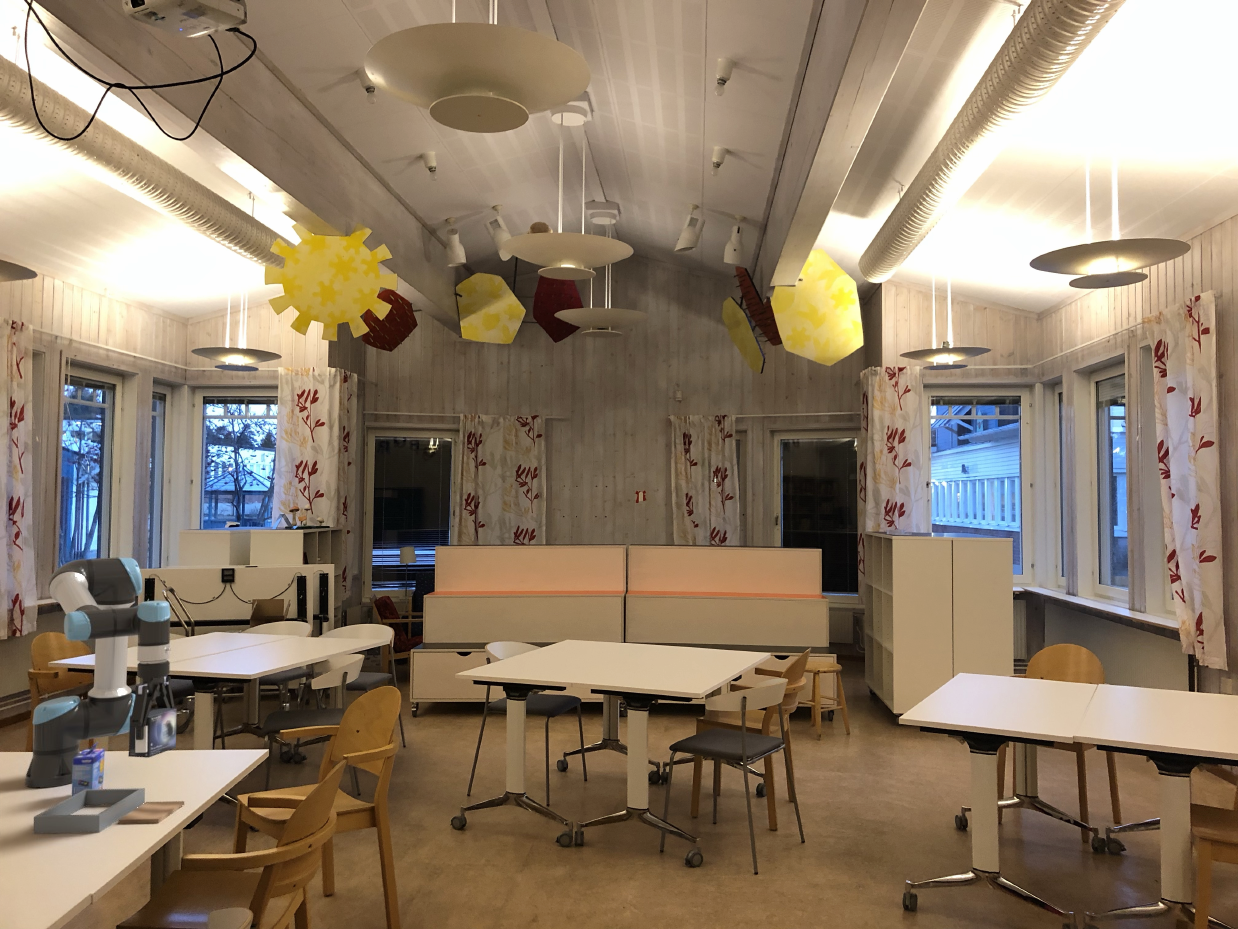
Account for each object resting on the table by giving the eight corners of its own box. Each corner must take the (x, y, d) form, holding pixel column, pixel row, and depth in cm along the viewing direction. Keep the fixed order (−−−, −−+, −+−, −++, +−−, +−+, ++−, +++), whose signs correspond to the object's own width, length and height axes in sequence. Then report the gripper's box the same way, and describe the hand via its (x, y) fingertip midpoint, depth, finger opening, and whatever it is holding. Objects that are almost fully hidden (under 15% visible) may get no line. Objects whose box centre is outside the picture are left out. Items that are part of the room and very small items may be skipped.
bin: (84, 804, 247) (84, 789, 247) (144, 803, 247) (144, 788, 247) (33, 833, 225) (33, 816, 225) (99, 832, 225) (99, 815, 225)
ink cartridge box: (93, 802, 249) (93, 748, 249) (70, 804, 247) (71, 749, 248) (104, 791, 258) (105, 739, 259) (83, 793, 257) (83, 740, 258)
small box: (149, 758, 233) (150, 716, 233) (127, 757, 234) (127, 715, 235) (177, 747, 243) (177, 707, 244) (155, 746, 245) (156, 707, 245)
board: (146, 805, 245) (146, 801, 245) (184, 805, 245) (184, 801, 245) (118, 823, 231) (118, 819, 231) (158, 823, 231) (158, 819, 231)
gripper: (145, 668, 228) (144, 758, 227) (188, 653, 252) (188, 734, 251) (114, 669, 228) (114, 758, 227) (161, 654, 252) (160, 735, 251)
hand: (153, 746), depth 239 cm, fingers closed on small box, 11 cm apart
